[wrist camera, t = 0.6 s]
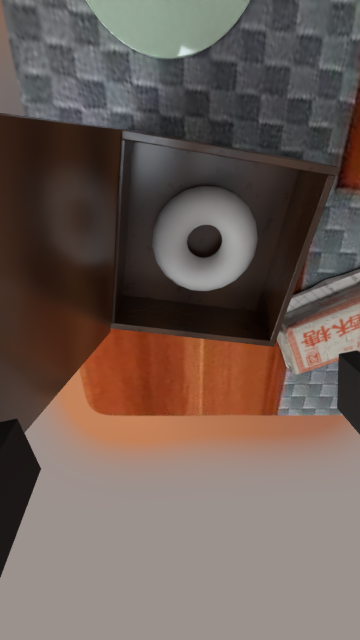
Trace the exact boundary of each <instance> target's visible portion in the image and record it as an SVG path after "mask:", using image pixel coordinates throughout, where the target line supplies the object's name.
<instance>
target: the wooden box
mask: <svg viewBox="0 0 360 640" xmlns="http://www.w3.org/2000/svg"><path fill="white" fill-rule="evenodd" d="M337 170H338V167H336V166H331V165H327V164H322V163H317V162H313V161H308V160H303V159H297V158H291V157H285V156H280V155H274V154H268V153H263V152H257V151H251V150H245V149H240V148H234V147H228V146H222V145H217V144H211V143H205V142H199V141H194V140H188V139H182V138H177V137H171V136H165V135H159V134H154V133H148V132H142V131H136V130H131V129H121V142H120V161H119V180H118V198H117V217H116V236H115V255H114V274H113V292H112V311H111V328H113V329H122V330H131V331H140V332H148V333H157V334H166V335H175V336H184V337H193V338H202V339H211V340H220V341H228V342H237V343H246V344H255V345H264V346H273V347H274V345H275V343H276V340H277V337H278V334H279V331H280V328H281V326H282V323H283V320H284V317H285V315H286V312H287V309H288V306H289V304H290V301H291V298H292V295H293V292H294V290H295V287H296V284H297V281H298V279H299V276H300V273H301V270H302V267H303V265H304V262H305V259H306V256H307V254H308V251H309V248H310V245H311V243H312V240H313V237H314V234H315V231H316V229H317V226H318V223H319V220H320V218H321V215H322V212H323V209H324V206H325V204H326V201H327V198H328V195H329V193H330V190H331V187H332V184H333V182H334V179H335V175H336V173H337ZM203 185H204V186H215V187H222V188H224V189H226V190H228V191H230V192H232V193H235V194H237V195H238V196H239V197H240V198H241V199H242V200H243V201H244V202H245V203H246V204H247V205H248V206H249V208H250V211H251V213H252V215H253V217H254V219H255V221H256V227H257V236H258V241H257V246H256V250H255V255H254V257H253V259H252V261H251V262H250V264H249V266H248V268H247V269H246V270H245V271H244V272H243V273H242V274H241V275H240V276H239V277H238V278H237V279H236V280H235V281H233V282H232V283H230V284H228V285H226V286H224V287H222V288H219V289H214V290H210V291H197V290H190V289H187V288H185V287H182V286H179V285H177V284H176V283H175V282H173V281H172V280H171V279H169V278H168V277H167V276H166V275H165V274H164V272H163V271H162V269H161V268H160V266H159V265H158V263H157V261H156V258H155V254H154V251H153V247H152V239H153V228H154V225H155V223H156V220H157V217H158V215H159V213H160V212H161V210H162V209H163V208H164V207H165V205H166V204H167V203H168V202H169V200H170V199H172V198H173V197H175V196H177V195H178V194H180V193H181V192H183V191H184V190H187V189H191V188H195V187H199V186H203ZM221 244H222V236H221V234H220V232H219V230H218V229H217V228H216V227H214V226H212V225H201V226H198V227H196V228H195V229H193V230H192V232H191V233H190V234H189V236H188V240H187V245H188V249H189V250H190V252H191V253H192V254H193V255H195V256H197V257H202V258H205V257H210V256H212V255H214V254H215V253H216V252H217V251H218V250H219V248H220V246H221Z"/></svg>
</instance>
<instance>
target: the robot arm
mask: <svg viewBox="0 0 360 640" xmlns="http://www.w3.org/2000/svg"><path fill="white" fill-rule="evenodd" d="M337 408H338V409H339V411H340V412H341V413H342V414H343V415H344V416H345V418H346V419H347V420H348V421H349V422H350V423H351V425H352V426H353V427H354V428H355V429H356V430H357V432H358V433H359V434H360V352H359V351H358V350H355V351H350V352H345V353H340V354H339V363H338V402H337ZM40 470H41V468H40V466H39V464H38V462H37V459H36V457H35V455H34V453H33V451H32V449H31V446H30V444H29V442H28V440H27V438H26V436H25V434H24V431H23V429H22V427H21V425H20V423H19V421H18V419H12V420H7V421H2V422H0V577H1V574H2V571H3V569H4V566H5V563H6V561H7V558H8V555H9V553H10V550H11V547H12V545H13V542H14V539H15V537H16V534H17V531H18V528H19V526H20V523H21V520H22V518H23V515H24V513H25V510H26V507H27V505H28V502H29V499H30V497H31V494H32V491H33V488H34V486H35V483H36V480H37V478H38V475H39V473H40Z"/></svg>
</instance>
